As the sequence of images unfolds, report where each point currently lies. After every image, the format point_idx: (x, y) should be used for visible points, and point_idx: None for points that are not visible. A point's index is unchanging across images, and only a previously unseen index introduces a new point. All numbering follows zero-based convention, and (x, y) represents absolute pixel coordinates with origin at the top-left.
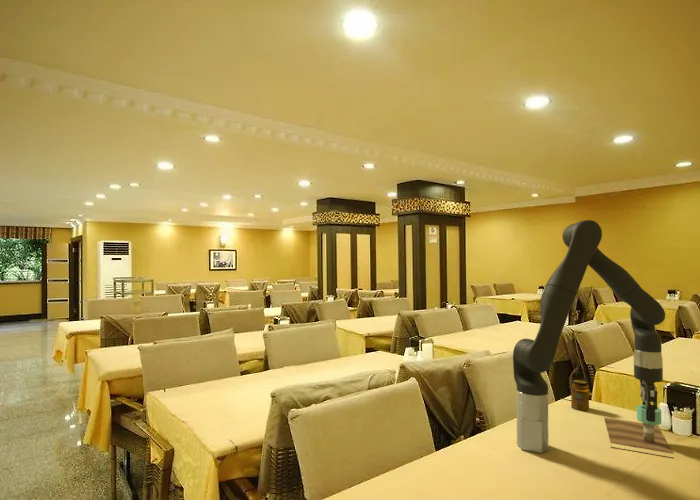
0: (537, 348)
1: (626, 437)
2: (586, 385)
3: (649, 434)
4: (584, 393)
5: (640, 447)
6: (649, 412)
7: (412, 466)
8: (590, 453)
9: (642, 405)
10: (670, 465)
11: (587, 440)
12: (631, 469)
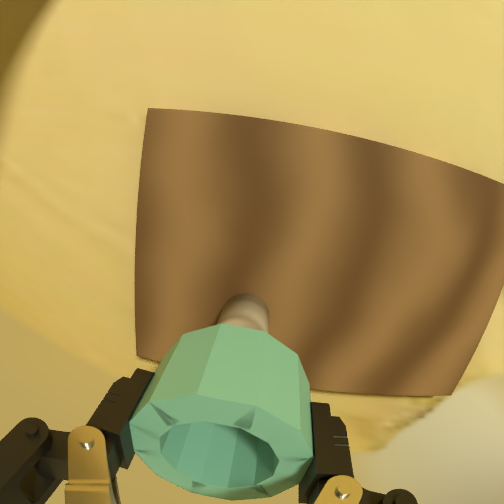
0: None
1: (264, 215)
2: None
3: None
4: None
5: (141, 245)
6: (96, 418)
7: None
8: (77, 31)
9: (292, 448)
10: (80, 306)
11: (221, 17)
12: (5, 163)
